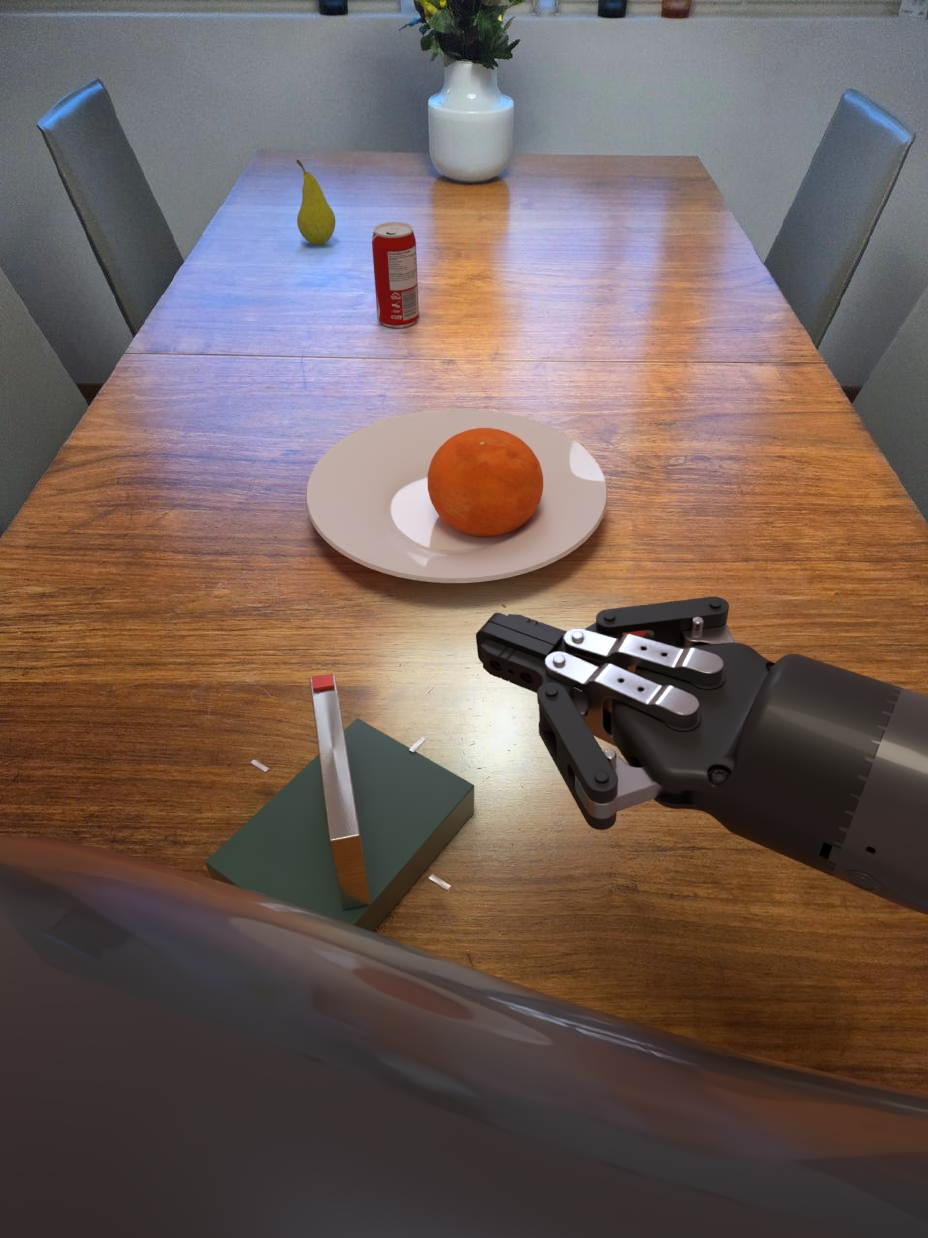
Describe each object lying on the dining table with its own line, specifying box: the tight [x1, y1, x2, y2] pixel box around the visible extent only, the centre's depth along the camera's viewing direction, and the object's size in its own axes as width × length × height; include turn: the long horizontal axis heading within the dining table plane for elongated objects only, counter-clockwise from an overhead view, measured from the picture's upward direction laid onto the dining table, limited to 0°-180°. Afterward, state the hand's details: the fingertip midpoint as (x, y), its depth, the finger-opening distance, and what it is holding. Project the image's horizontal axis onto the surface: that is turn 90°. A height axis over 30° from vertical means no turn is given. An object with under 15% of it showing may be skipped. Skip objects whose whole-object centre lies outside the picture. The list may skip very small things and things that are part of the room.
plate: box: [305, 408, 608, 584], centre depth 81 cm, size 28×28×9 cm
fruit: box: [296, 159, 336, 246], centre depth 133 cm, size 6×6×12 cm
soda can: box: [371, 221, 420, 329], centre depth 112 cm, size 6×6×12 cm
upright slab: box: [308, 673, 371, 910], centre depth 52 cm, size 12×2×7 cm, turn 13°
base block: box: [205, 717, 475, 933], centre depth 55 cm, size 16×16×3 cm
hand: (485, 637), depth 41 cm, fingers closed
